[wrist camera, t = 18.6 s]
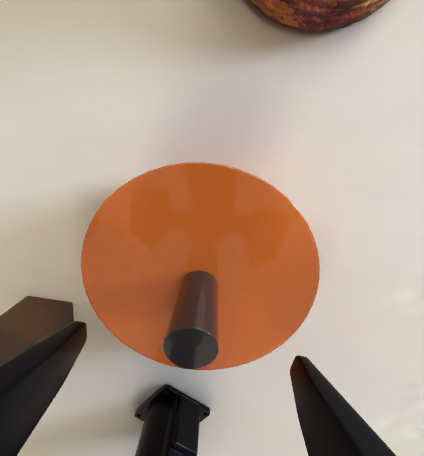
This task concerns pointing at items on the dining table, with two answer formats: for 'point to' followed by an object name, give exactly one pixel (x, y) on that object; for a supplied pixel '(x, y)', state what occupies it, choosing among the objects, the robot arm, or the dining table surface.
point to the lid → (200, 266)
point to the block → (31, 324)
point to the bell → (318, 12)
